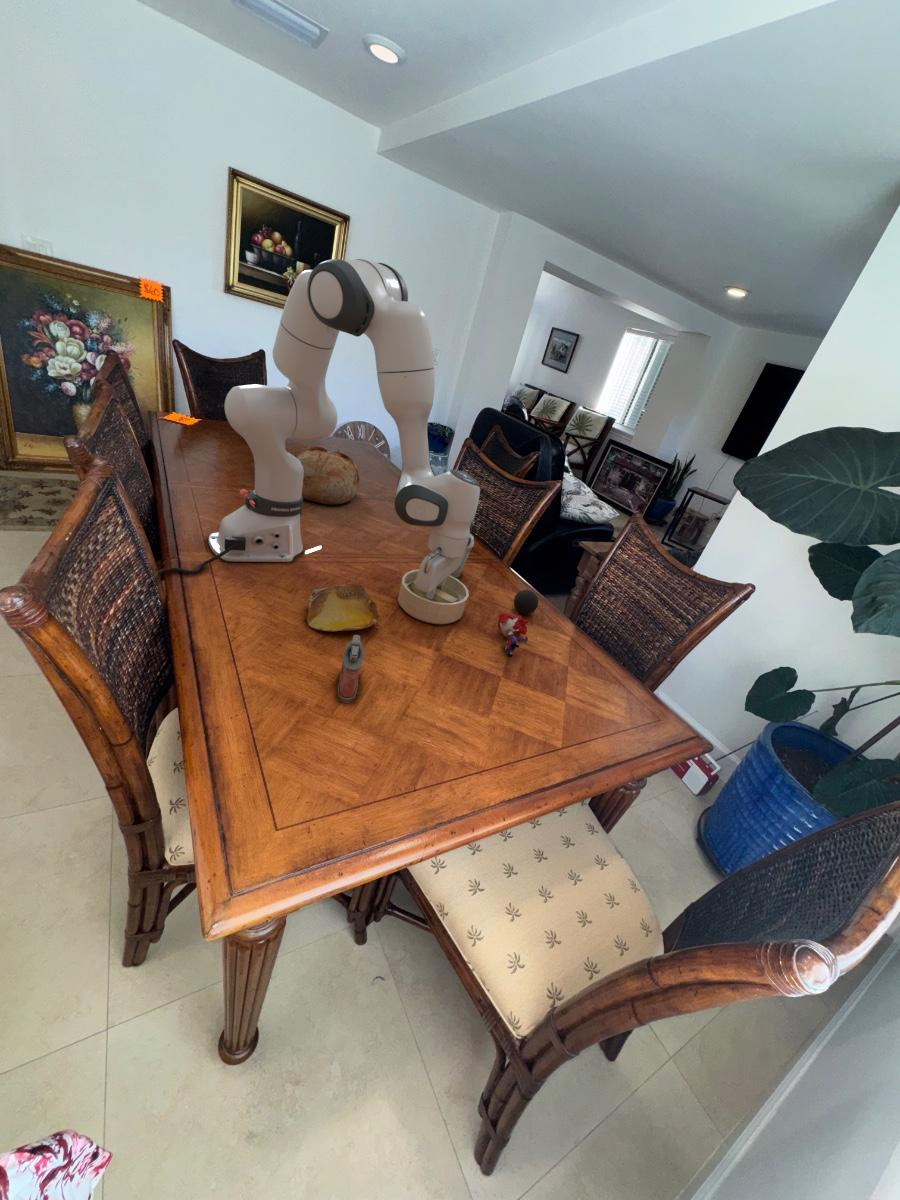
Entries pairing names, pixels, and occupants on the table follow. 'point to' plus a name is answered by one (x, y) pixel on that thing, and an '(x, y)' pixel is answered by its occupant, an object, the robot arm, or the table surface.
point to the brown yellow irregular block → (341, 608)
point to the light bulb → (526, 601)
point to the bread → (328, 476)
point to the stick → (439, 595)
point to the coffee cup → (459, 570)
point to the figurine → (512, 630)
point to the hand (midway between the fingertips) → (433, 593)
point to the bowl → (432, 609)
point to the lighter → (350, 670)
